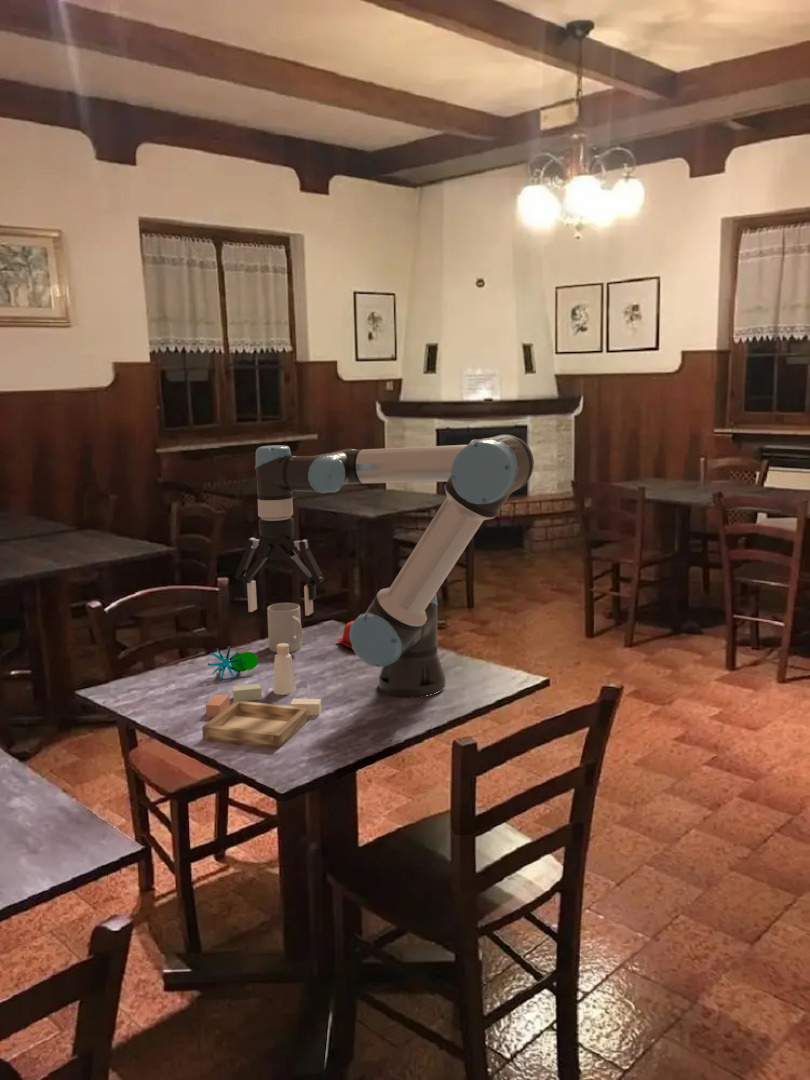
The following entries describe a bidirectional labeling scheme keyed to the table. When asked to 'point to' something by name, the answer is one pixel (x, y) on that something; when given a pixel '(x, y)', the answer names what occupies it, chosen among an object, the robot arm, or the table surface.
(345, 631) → the butter dish
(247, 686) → the sage brick
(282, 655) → the pepper shaker
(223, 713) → the oak tray
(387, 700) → the table surface
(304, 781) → the table surface
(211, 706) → the terracotta brick
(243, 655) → the stick construction toy
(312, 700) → the cream brick
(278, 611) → the mug
